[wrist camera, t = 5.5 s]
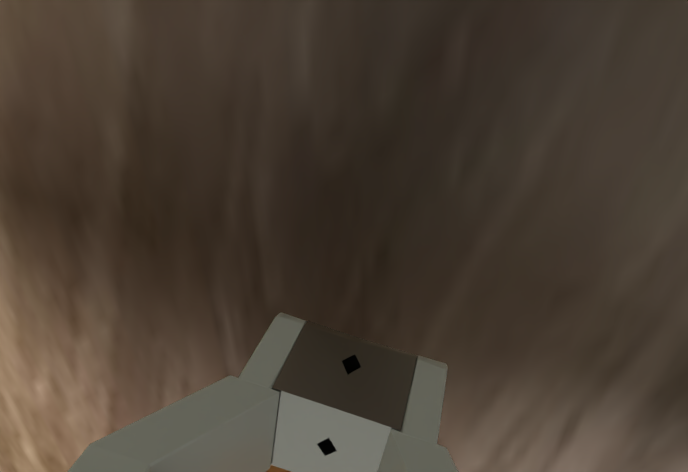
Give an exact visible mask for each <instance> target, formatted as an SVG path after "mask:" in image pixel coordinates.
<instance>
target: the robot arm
mask: <svg viewBox="0 0 688 472" xmlns="http://www.w3.org/2000/svg"><path fill="white" fill-rule="evenodd" d="M447 371H448V367H447V364H446V363H443V362H439V361H436V360H433V359H429V358H426V357H422V356H419V355H418V356H417V355H415V354H412V353H408V352H405V351H402V350H398V349H395V348H392V347H388V346H385V345H382V344H378V343H375V342H372V341H368V340H365V339H361V338H358V337H355V336H352V335H349V334H346V333H343V332H340V331H337V330H334V329H331V328H328V327H325V326H322V325H319V324H316V323H313V322H310V321H305V320H302V319H299V318H296V317H293V316H291V315H288V314H285V313H282V312H280V313H279V314H278V315H277V316H276V317H275V318H274V319H273V321H272V323H271V324H270V326H269V328H268V329H267V331H266V333H265V334H264V336H263V338H262V339H261V341H260V343H259V344H258V346H257V347H256V349H255V351H254V352H253V354H252V356H251V357H250V359H249V361H248V362H247V364H246V366H245V367H244V369H243V371H242V372H241V374H240V376H239V377H238V378H237V377H234V376H231V375H229V376H227V377H225V378H223V379H221V380H219V381H217V382H215V383H213V384H211V385H209V386H207V387H205V388H203V389H201V390H199V391H197V392H195V393H193V394H191V395H189V396H187V397H185V398H183V399H181V400H179V401H176V402H174V403H172V404H170V405H168V406H166V407H164V408H162V409H160V410H158V411H156V412H154V413H152V414H150V415H148V416H146V417H144V418H142V419H140V420H138V421H136V422H134V423H132V424H130V425H128V426H126V427H124V428H122V429H120V430H118V431H116V432H113V433H111V434H109V435H107V436H105V437H103V438H101V439H99V440H97V441H95V442H93V443H91V444H90V445H89V446H88V447H87V448H86V450H85V451H84V452H83V453H82V455H81V456H80V457H79V458H78V459H77V461H76V462H75V463H74V464H73V466H72V467H71V468H70V469H69V470H68V472H266V471H267V470H268V469H270V465H273V466H276V467H279V468H282V469H285V470H288V471H291V472H458V470H457V468H456V466H455V464H454V462H453V460H452V458H451V456H450V454H449V452H448V450H447V448H446V447H443V446H440V445H438V444H437V442H438V435H439V428H440V421H441V414H442V407H443V399H444V392H445V385H446V378H447Z"/></svg>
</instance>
